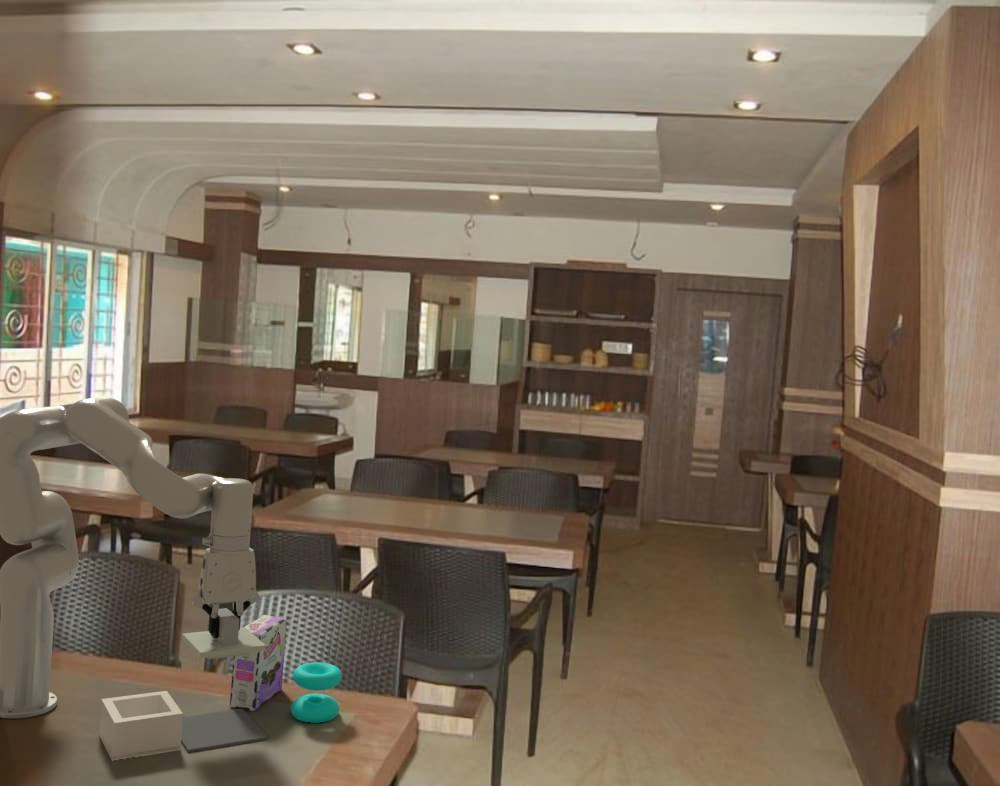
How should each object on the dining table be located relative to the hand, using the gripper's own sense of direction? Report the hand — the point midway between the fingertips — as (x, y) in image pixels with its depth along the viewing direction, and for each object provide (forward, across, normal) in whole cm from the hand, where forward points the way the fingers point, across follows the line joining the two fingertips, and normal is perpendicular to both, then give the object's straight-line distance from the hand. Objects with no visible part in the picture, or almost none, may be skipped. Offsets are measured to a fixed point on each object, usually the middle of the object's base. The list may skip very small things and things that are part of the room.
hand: (223, 634), depth 183 cm
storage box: (+19, -15, 0) cm, 24 cm away
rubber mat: (+19, 0, 0) cm, 19 cm away
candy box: (+20, +12, +13) cm, 27 cm away
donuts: (+20, +20, 0) cm, 28 cm away
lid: (+3, 0, 0) cm, 3 cm away
